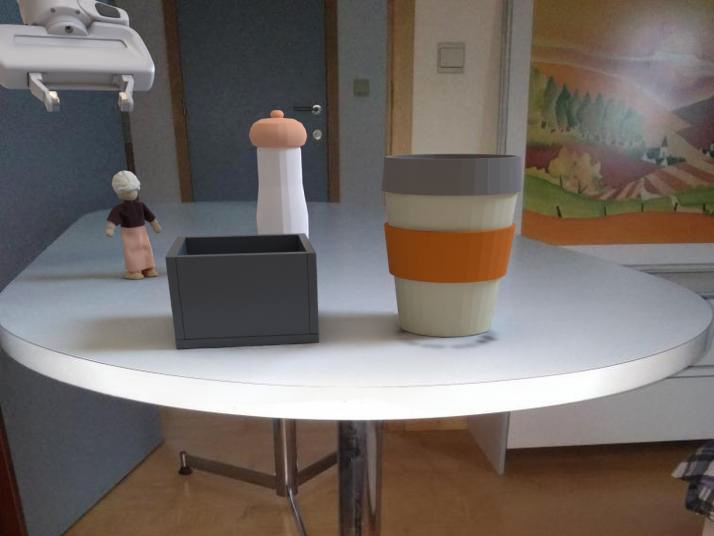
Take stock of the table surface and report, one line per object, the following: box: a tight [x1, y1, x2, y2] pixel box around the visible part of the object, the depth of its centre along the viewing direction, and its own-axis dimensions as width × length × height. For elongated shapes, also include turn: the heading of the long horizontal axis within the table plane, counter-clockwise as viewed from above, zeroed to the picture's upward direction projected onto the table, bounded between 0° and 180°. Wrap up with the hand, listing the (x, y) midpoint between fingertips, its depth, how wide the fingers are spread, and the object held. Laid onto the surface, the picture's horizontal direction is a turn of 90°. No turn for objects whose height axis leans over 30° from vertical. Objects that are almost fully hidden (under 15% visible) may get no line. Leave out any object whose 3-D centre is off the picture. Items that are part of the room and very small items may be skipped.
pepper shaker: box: [248, 109, 309, 239], centre depth 92 cm, size 7×7×19 cm
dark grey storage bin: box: [164, 233, 320, 350], centre depth 68 cm, size 13×13×8 cm
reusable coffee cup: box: [380, 153, 523, 338], centre depth 67 cm, size 13×13×15 cm
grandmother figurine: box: [104, 170, 162, 280], centre depth 91 cm, size 8×4×13 cm, turn 149°
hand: (92, 107), depth 94 cm, fingers open, 8 cm apart
